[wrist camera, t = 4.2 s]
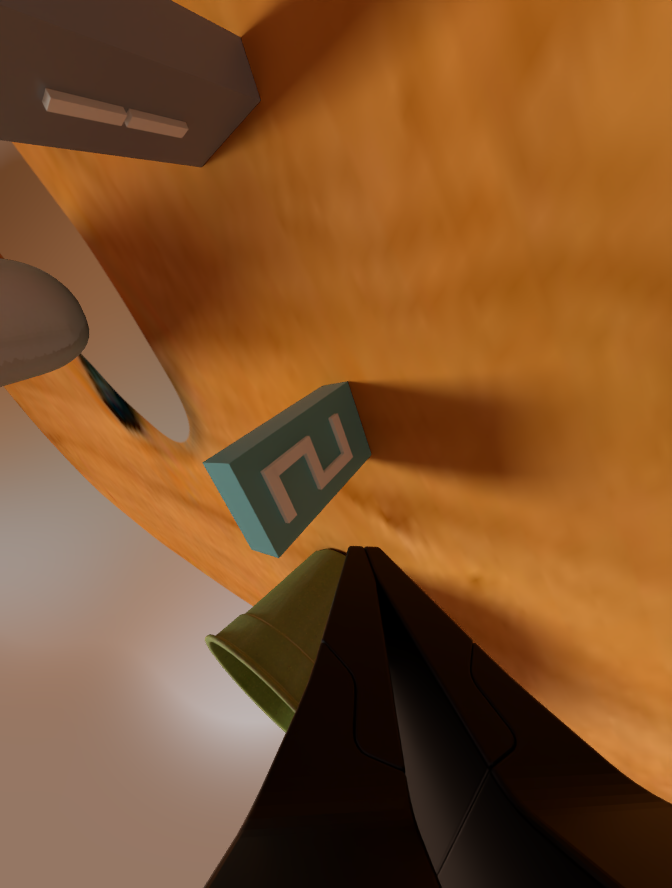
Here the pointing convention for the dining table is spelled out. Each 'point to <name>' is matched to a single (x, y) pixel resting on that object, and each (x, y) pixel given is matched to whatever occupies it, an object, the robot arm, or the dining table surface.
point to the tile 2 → (291, 467)
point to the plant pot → (281, 637)
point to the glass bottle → (36, 323)
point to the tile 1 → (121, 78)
